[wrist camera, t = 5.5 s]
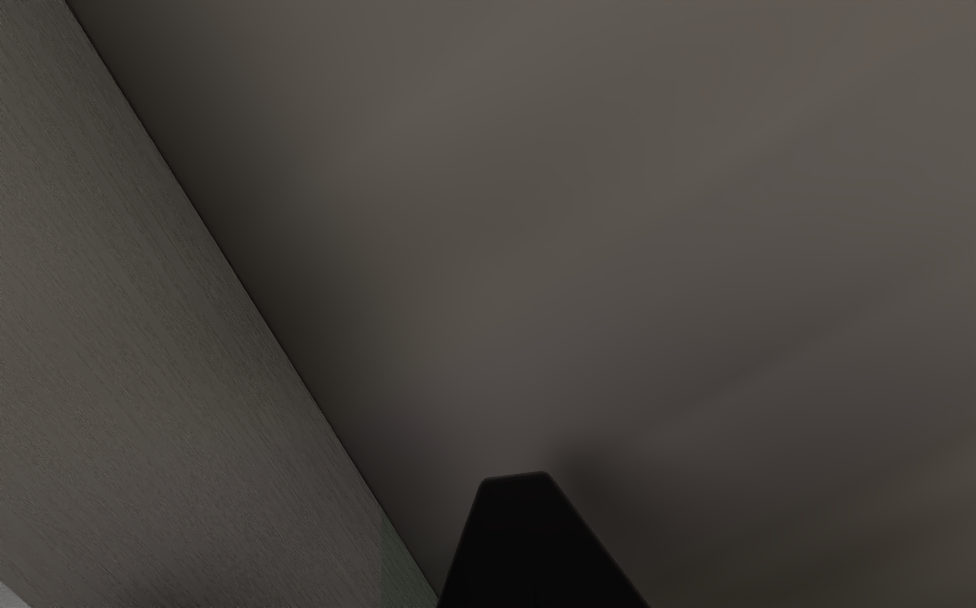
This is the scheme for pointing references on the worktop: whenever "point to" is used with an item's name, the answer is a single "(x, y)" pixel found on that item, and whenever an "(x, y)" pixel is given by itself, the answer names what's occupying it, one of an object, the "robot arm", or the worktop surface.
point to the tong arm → (150, 379)
